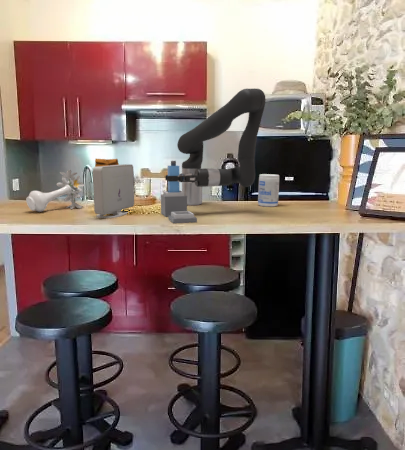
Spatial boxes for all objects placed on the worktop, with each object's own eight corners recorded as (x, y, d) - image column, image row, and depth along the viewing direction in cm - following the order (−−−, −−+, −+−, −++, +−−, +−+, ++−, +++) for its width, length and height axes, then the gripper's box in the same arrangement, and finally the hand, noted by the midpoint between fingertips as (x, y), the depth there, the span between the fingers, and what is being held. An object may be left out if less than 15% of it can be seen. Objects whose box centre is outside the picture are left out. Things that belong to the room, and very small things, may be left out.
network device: (108, 219, 165) (106, 167, 161) (88, 218, 167) (86, 166, 164) (139, 210, 188) (138, 164, 185) (121, 209, 191) (120, 164, 187)
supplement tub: (255, 206, 203) (256, 175, 200) (260, 203, 211) (261, 173, 209) (276, 207, 199) (277, 175, 197) (280, 204, 208) (281, 174, 205)
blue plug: (167, 194, 178) (167, 160, 175) (177, 194, 179) (177, 160, 176) (169, 195, 174) (169, 160, 171) (179, 195, 175) (179, 160, 172)
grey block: (161, 213, 181) (160, 190, 179) (181, 212, 183) (181, 190, 181) (165, 216, 172) (164, 193, 170) (187, 215, 175) (187, 192, 173)
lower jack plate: (168, 219, 166) (168, 211, 166) (190, 218, 169) (190, 210, 168) (173, 223, 158) (173, 215, 157) (196, 222, 160) (196, 214, 160)
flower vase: (42, 229, 181) (91, 207, 197) (33, 188, 172) (85, 170, 188) (26, 220, 189) (75, 200, 205) (16, 181, 180) (68, 163, 196)
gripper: (202, 167, 185) (163, 168, 180) (212, 169, 171) (170, 169, 167) (202, 185, 186) (163, 185, 181) (212, 188, 173) (170, 189, 168)
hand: (166, 178), depth 174 cm, fingers closed on blue plug, 4 cm apart
